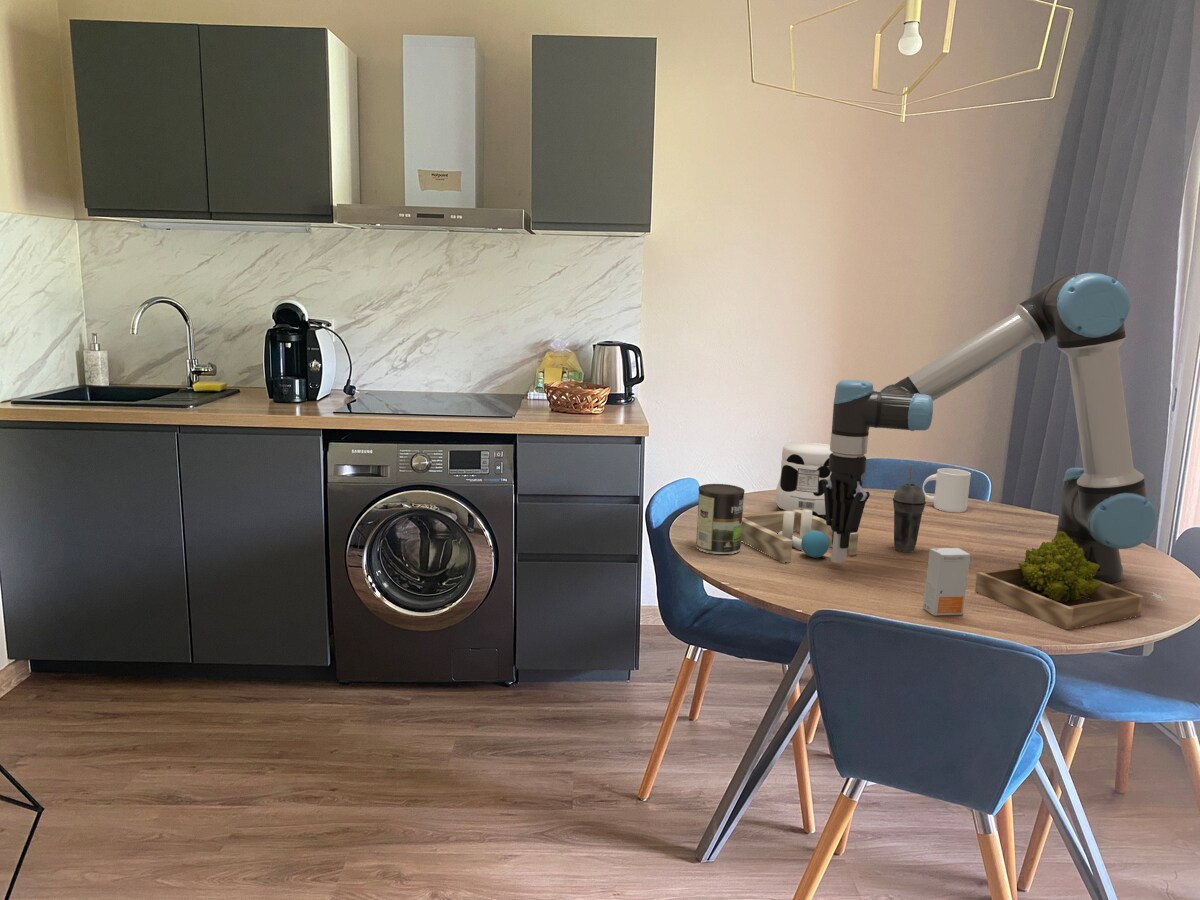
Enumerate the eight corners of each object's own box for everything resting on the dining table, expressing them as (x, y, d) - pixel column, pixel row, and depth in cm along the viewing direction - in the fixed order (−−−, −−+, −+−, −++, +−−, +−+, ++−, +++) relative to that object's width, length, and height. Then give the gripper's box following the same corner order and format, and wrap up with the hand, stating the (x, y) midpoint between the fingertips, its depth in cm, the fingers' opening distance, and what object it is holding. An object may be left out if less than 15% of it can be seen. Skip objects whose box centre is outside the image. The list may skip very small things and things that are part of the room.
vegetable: (1006, 586, 168) (1037, 517, 170) (1001, 599, 182) (1030, 534, 184) (1089, 621, 161) (1120, 548, 163) (1077, 631, 175) (1106, 564, 177)
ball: (819, 524, 198) (814, 547, 200) (798, 528, 195) (793, 551, 197) (836, 535, 193) (832, 559, 195) (815, 540, 190) (810, 564, 192)
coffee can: (747, 546, 201) (751, 487, 199) (731, 558, 193) (734, 496, 190) (705, 539, 206) (709, 481, 204) (688, 550, 197) (691, 489, 195)
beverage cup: (926, 549, 204) (935, 465, 200) (912, 555, 199) (921, 469, 195) (896, 542, 209) (904, 460, 205) (882, 548, 204) (890, 464, 200)
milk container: (816, 503, 244) (821, 440, 241) (854, 519, 228) (860, 452, 225) (762, 507, 238) (766, 442, 235) (797, 524, 222) (803, 454, 219)
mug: (922, 502, 250) (926, 465, 248) (968, 508, 245) (972, 470, 243) (918, 508, 243) (922, 470, 241) (964, 514, 237) (969, 476, 235)
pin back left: (793, 549, 201) (796, 513, 199) (785, 550, 200) (787, 514, 198) (787, 546, 203) (790, 510, 201) (779, 547, 202) (781, 511, 200)
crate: (1140, 616, 165) (1143, 596, 165) (1066, 630, 157) (1069, 609, 157) (1045, 580, 184) (1047, 562, 184) (974, 591, 176) (977, 572, 176)
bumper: (856, 554, 198) (858, 533, 197) (783, 563, 190) (784, 541, 189) (797, 528, 218) (799, 509, 217) (729, 535, 210) (730, 515, 209)
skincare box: (934, 616, 162) (941, 554, 160) (922, 608, 166) (928, 547, 164) (964, 615, 163) (971, 554, 161) (951, 607, 167) (958, 547, 165)
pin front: (808, 540, 200) (785, 530, 207) (799, 541, 199) (777, 531, 206) (807, 550, 200) (785, 540, 208) (798, 551, 199) (776, 541, 207)
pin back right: (811, 547, 203) (814, 511, 201) (803, 548, 202) (806, 512, 200) (805, 544, 205) (808, 509, 203) (796, 545, 204) (799, 509, 202)
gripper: (883, 459, 180) (873, 568, 184) (842, 447, 191) (833, 550, 196) (854, 460, 177) (844, 572, 181) (814, 449, 188) (805, 553, 193)
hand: (838, 561), depth 188 cm, fingers closed
